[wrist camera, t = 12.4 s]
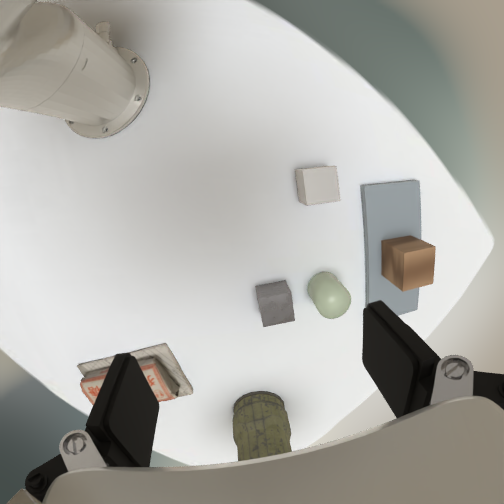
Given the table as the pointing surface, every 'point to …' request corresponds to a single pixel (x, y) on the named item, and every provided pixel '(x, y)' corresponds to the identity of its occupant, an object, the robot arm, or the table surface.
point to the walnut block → (407, 262)
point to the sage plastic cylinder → (329, 295)
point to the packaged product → (152, 365)
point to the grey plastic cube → (317, 185)
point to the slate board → (389, 237)
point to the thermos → (260, 426)
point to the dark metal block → (275, 303)
